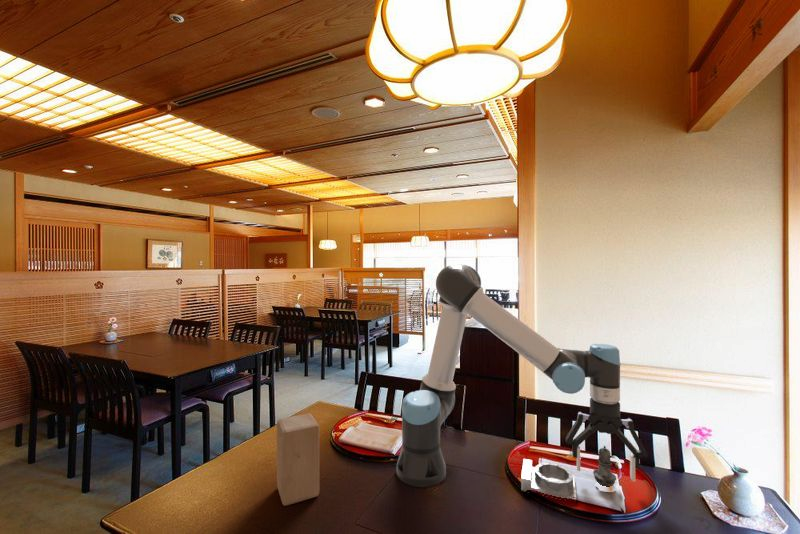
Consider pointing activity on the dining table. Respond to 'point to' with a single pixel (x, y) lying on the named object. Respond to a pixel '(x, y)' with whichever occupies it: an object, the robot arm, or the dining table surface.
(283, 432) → the wooden block
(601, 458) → the grey tall piece
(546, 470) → the mount
